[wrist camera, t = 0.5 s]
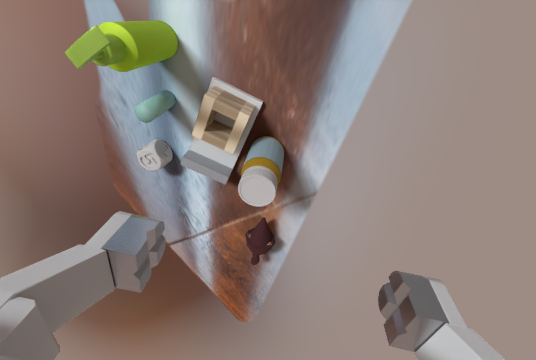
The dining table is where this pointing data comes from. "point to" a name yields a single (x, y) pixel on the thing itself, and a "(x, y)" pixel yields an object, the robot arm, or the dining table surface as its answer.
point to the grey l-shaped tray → (211, 157)
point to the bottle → (261, 171)
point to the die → (154, 155)
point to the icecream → (259, 240)
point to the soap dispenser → (124, 45)
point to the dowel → (155, 106)
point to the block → (217, 131)
